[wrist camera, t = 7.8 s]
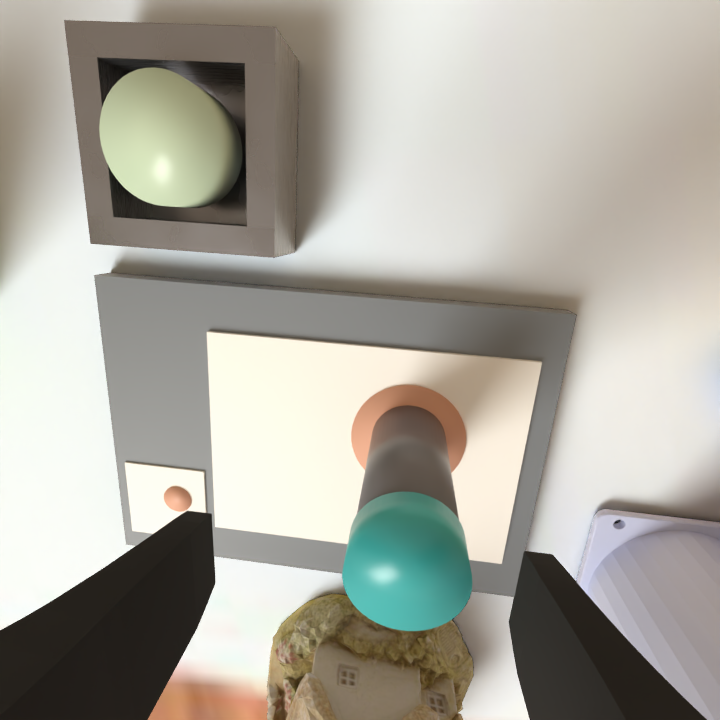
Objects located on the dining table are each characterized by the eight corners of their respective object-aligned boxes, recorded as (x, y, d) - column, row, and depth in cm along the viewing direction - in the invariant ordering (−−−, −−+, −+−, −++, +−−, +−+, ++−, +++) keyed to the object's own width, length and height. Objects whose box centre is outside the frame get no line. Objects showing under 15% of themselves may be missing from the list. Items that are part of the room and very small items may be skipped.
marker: (452, 407, 18) (482, 536, 11) (442, 477, 19) (462, 639, 12) (372, 399, 19) (346, 517, 11) (366, 468, 20) (338, 620, 12)
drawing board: (567, 310, 18) (579, 316, 17) (510, 580, 22) (516, 601, 21) (109, 272, 20) (89, 276, 18) (137, 531, 24) (122, 548, 23)
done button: (241, 89, 15) (217, 69, 13) (243, 211, 16) (221, 209, 14) (131, 84, 15) (92, 65, 14) (141, 204, 17) (106, 202, 15)
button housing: (298, 61, 16) (275, 26, 14) (295, 252, 19) (274, 257, 16) (122, 54, 17) (64, 20, 14) (138, 240, 19) (90, 243, 16)
